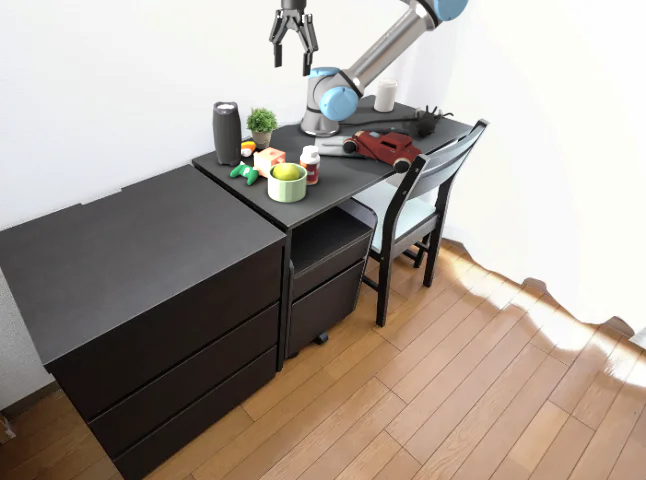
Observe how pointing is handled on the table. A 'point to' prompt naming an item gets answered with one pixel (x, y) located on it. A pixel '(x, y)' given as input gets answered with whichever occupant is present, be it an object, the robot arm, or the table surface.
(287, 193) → the light green bowl
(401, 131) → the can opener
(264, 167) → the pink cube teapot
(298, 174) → the apple
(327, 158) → the table surface
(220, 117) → the portable speaker
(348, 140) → the toy car
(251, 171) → the gaming controller
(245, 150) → the candy corn
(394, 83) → the white cylindrical container
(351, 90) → the robot arm
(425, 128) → the toy
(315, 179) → the pill bottle
